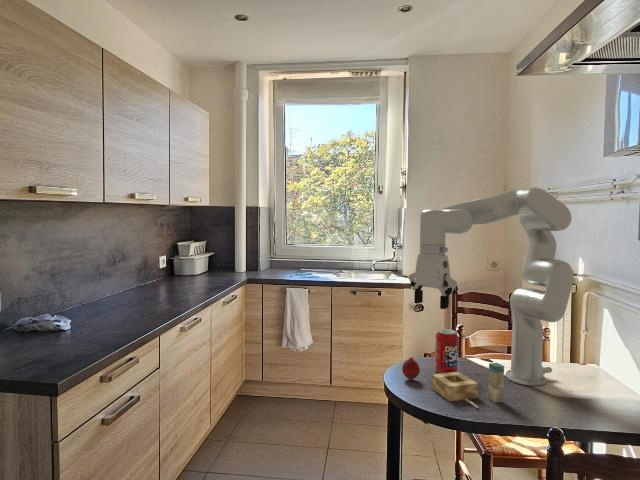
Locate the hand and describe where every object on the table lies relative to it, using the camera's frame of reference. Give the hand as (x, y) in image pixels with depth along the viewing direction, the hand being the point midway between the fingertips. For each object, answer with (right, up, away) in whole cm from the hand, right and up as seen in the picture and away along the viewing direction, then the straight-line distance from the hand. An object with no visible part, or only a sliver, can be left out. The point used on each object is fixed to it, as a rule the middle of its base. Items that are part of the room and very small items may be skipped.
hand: (430, 305), depth 128 cm
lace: (+11, -29, -4) cm, 31 cm away
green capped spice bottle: (+19, -29, -1) cm, 34 cm away
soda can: (+11, -28, +21) cm, 37 cm away
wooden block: (+8, -28, +4) cm, 30 cm away
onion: (-3, -28, +14) cm, 31 cm away
